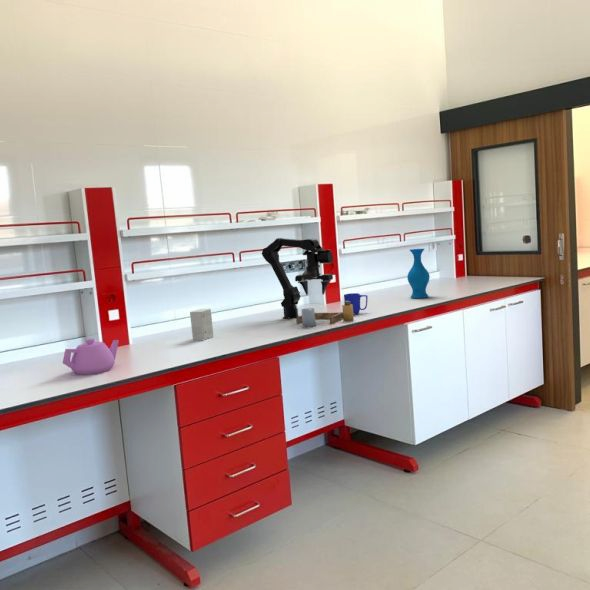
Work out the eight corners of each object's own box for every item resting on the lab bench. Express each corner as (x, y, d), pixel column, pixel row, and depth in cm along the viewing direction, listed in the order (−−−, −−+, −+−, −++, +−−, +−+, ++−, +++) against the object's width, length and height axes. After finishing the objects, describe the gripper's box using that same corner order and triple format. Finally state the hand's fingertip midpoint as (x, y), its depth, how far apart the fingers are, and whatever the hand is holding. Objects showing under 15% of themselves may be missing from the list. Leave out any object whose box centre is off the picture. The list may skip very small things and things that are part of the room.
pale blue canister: (300, 327, 286) (299, 310, 285) (308, 323, 294) (307, 307, 293) (312, 327, 283) (310, 310, 282) (319, 323, 291) (318, 307, 290)
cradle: (296, 323, 297) (296, 317, 296) (308, 318, 309) (308, 312, 309) (332, 323, 288) (332, 317, 288) (343, 318, 301) (343, 312, 301)
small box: (202, 336, 282) (199, 308, 280) (213, 336, 279) (211, 308, 278) (192, 340, 274) (189, 311, 273) (204, 340, 272) (201, 311, 270)
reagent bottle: (341, 321, 293) (340, 302, 292) (345, 319, 298) (344, 300, 297) (351, 321, 291) (350, 302, 290) (355, 319, 296) (353, 300, 294)
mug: (367, 314, 308) (366, 294, 307) (344, 315, 311) (342, 295, 310) (369, 311, 316) (367, 292, 315) (346, 312, 319) (344, 293, 318)
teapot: (74, 380, 215) (70, 346, 214) (56, 374, 226) (52, 342, 225) (130, 366, 230) (127, 335, 229) (111, 361, 241) (107, 332, 240)
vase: (426, 299, 345) (423, 249, 342) (405, 299, 352) (402, 250, 348) (433, 296, 355) (431, 248, 352) (412, 296, 362) (410, 248, 358)
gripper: (289, 265, 303) (291, 297, 305) (322, 264, 295) (325, 296, 297) (299, 263, 313) (301, 293, 315) (332, 262, 304) (334, 293, 306)
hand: (315, 294), depth 308 cm, fingers open, 9 cm apart
